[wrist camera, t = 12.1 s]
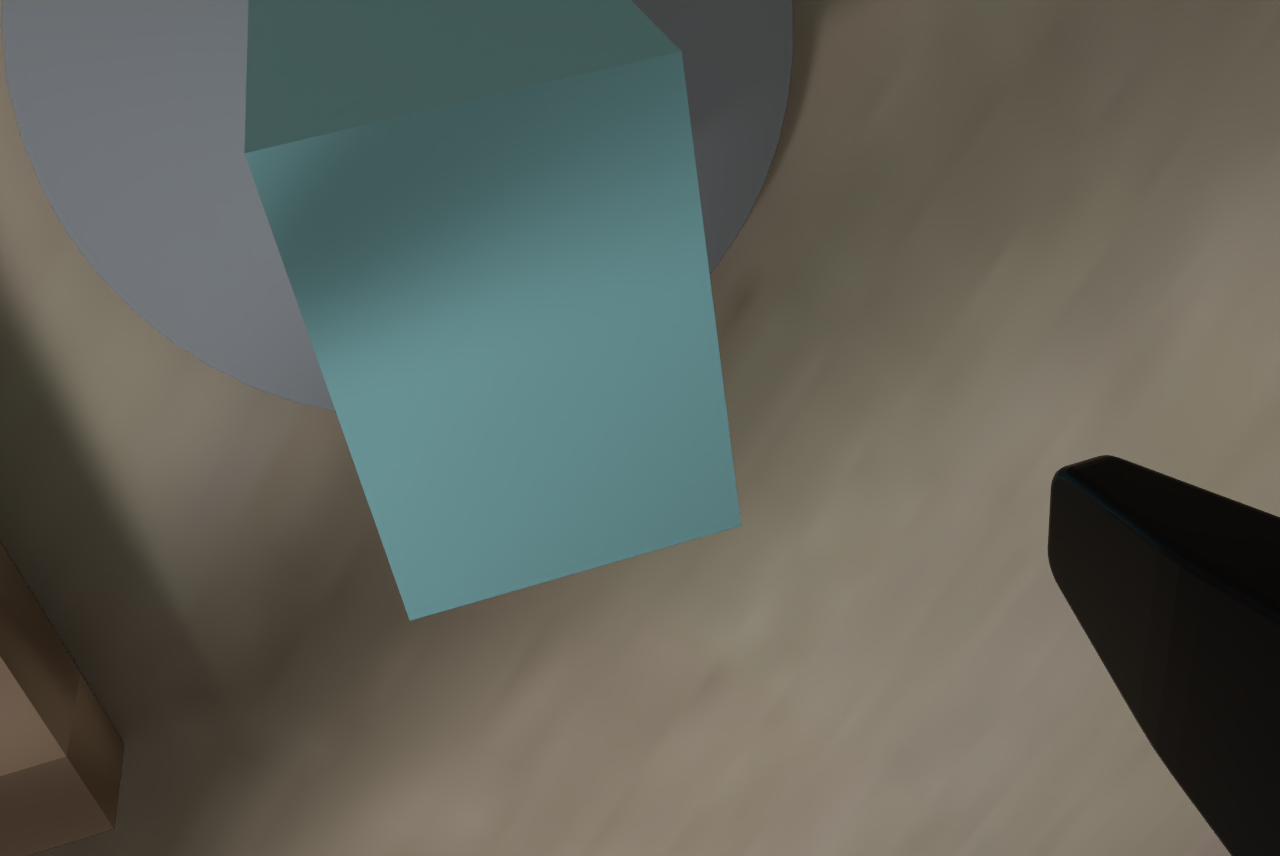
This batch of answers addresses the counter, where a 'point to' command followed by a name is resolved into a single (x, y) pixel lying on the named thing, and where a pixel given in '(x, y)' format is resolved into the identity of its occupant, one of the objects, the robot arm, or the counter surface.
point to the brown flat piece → (48, 734)
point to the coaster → (222, 181)
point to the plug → (498, 278)
